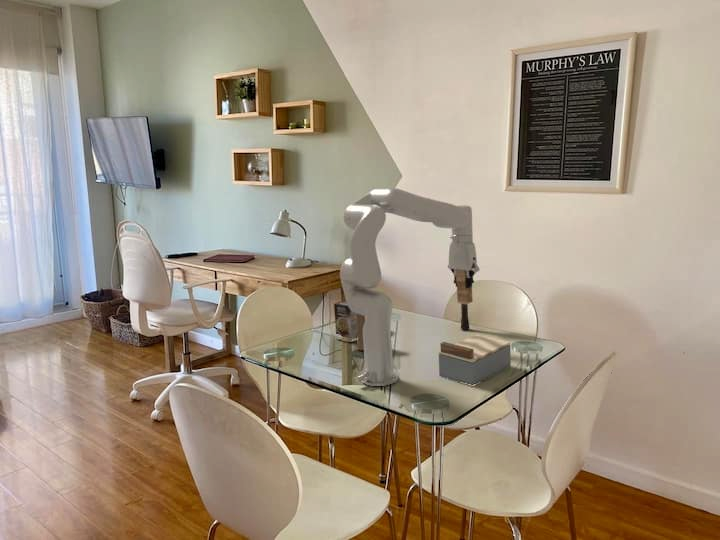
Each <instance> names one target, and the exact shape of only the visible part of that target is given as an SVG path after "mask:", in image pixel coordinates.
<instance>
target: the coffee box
mask: <svg viewBox="0 0 720 540" xmlns="http://www.w3.org/2000/svg"><path fill="white" fill-rule="evenodd" d="M333 307H334V308H333V309H334V321H335V322H334V323H335V325H334V326H335V335H336V334H339V335H341V336H343V337H346V338H349V339H351V340H352V339H354V338H357V337H358V335H357V321H356V313H355V312H353V311H351V310H350V308H349V307H348V305H347V302H346V300H342V301H338V302H335V303H334V304H333Z"/></svg>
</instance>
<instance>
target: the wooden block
mask: <svg viewBox="0 0 720 540" xmlns="http://www.w3.org/2000/svg"><path fill="white" fill-rule="evenodd" d="M356 321H357V335H358V341H356V342H357V343H356V345H357V347H356V348H357V351H358V350H364V343H363V326H364V323H365V316H363V315H360V314H357V313H356Z"/></svg>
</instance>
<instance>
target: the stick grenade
mask: <svg viewBox="0 0 720 540" xmlns="http://www.w3.org/2000/svg"><path fill="white" fill-rule="evenodd" d="M453 276H454V275H453ZM453 279H454V280H453V284H455V285H456V283H455V276H454V277H453ZM473 283H475V280H474V276H473V277H472V284H473ZM460 304H461V303H460ZM460 308H461V309H460V310H461V312H460V313H461V319H460V329H461V331H464V332H465V331H469V330H470V320H469V313H468V308H469V307H468V304H461V306H460Z"/></svg>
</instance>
